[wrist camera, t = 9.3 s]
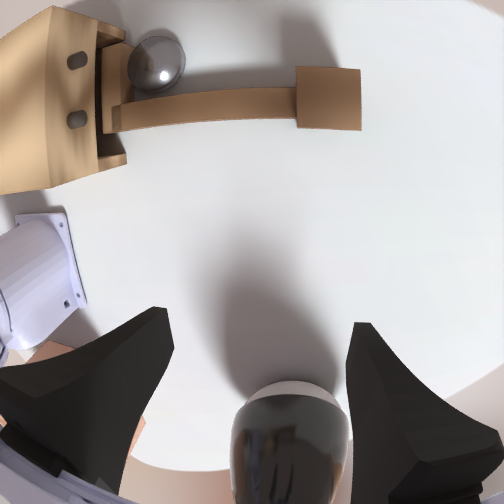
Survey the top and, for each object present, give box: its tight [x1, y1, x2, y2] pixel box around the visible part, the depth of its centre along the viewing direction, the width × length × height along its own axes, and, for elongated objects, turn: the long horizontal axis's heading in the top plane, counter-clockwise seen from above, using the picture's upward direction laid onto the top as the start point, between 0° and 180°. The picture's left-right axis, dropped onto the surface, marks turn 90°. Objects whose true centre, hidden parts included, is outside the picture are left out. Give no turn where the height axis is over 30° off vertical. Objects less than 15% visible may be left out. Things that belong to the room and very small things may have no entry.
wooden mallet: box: [101, 43, 361, 134], centre depth 15 cm, size 7×16×5 cm, turn 91°
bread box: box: [0, 6, 127, 195], centre depth 15 cm, size 10×10×8 cm
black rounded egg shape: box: [230, 381, 349, 504], centre depth 20 cm, size 10×10×15 cm
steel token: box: [127, 36, 186, 92], centre depth 17 cm, size 4×4×1 cm
